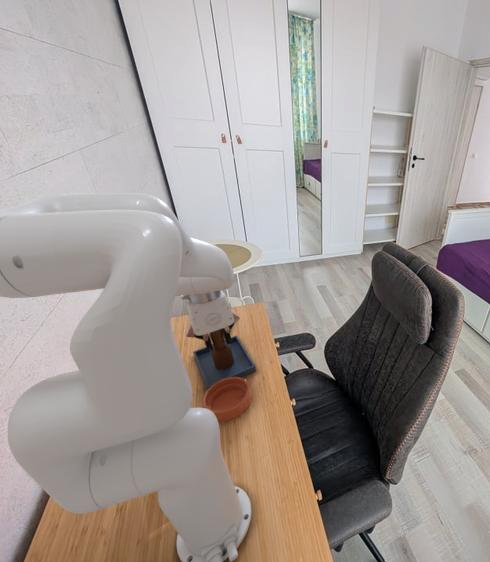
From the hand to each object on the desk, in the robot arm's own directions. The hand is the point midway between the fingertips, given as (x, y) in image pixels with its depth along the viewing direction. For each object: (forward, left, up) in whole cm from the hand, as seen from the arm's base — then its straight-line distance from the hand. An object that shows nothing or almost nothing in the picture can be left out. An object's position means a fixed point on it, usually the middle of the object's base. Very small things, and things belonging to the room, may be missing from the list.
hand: (219, 344), depth 84 cm
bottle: (0, 0, -8) cm, 8 cm away
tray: (0, 0, -9) cm, 9 cm away
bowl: (-15, +3, -9) cm, 18 cm away
